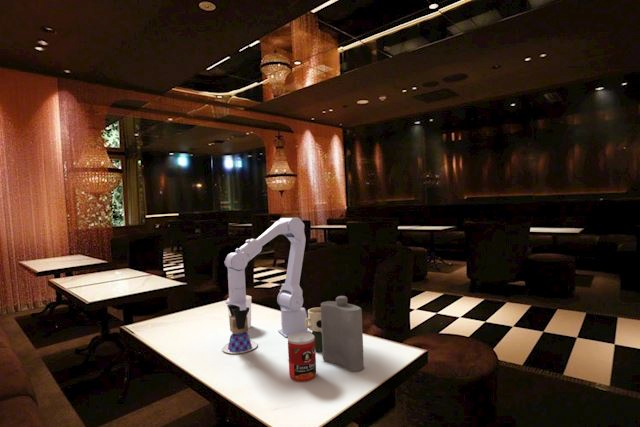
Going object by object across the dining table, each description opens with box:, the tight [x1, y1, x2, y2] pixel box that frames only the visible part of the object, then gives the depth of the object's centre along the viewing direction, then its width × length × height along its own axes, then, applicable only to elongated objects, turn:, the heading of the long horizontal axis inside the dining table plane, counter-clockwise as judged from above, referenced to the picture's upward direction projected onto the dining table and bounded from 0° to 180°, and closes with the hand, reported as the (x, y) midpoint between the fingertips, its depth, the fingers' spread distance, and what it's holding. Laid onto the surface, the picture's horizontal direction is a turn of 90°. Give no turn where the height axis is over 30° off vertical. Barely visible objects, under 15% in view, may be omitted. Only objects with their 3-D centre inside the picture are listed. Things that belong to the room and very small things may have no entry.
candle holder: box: [226, 294, 253, 329], centre depth 147 cm, size 10×10×12 cm
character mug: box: [305, 306, 323, 351], centre depth 121 cm, size 11×7×13 cm, turn 128°
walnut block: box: [229, 315, 249, 334], centre depth 125 cm, size 5×5×5 cm
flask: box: [320, 295, 365, 373], centre depth 109 cm, size 15×6×20 cm, turn 44°
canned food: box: [287, 332, 317, 383], centre depth 102 cm, size 8×8×11 cm
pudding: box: [221, 332, 258, 354], centre depth 125 cm, size 12×12×5 cm
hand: (238, 326), depth 125 cm, fingers closed on walnut block, 5 cm apart
